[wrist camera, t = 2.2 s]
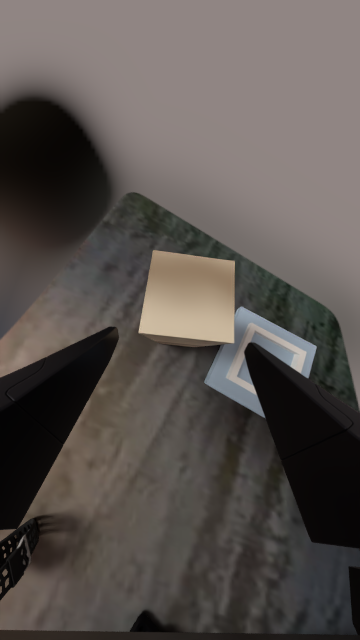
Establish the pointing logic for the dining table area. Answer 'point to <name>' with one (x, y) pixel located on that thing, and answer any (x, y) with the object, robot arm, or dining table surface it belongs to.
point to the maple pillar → (189, 300)
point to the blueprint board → (231, 363)
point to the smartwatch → (17, 554)
